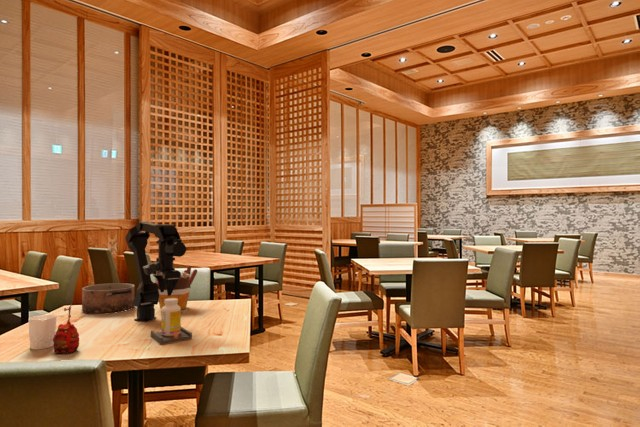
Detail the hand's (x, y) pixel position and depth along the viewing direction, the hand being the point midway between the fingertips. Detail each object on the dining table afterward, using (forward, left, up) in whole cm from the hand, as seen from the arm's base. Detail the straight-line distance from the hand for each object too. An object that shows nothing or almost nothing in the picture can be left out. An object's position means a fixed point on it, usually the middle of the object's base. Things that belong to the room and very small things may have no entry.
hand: (165, 293), depth 168 cm
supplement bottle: (+13, -13, -12) cm, 22 cm away
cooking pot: (-47, +18, -13) cm, 52 cm away
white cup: (-21, -36, -13) cm, 44 cm away
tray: (+13, -13, -13) cm, 22 cm away
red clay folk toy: (-9, -37, -13) cm, 40 cm away
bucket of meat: (-18, +29, -13) cm, 36 cm away
